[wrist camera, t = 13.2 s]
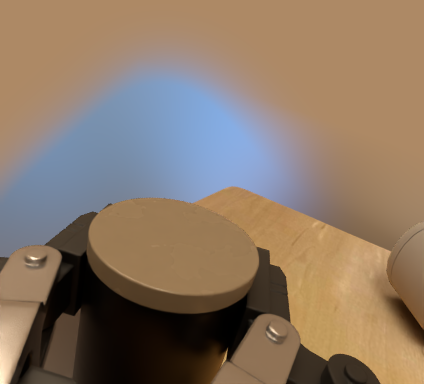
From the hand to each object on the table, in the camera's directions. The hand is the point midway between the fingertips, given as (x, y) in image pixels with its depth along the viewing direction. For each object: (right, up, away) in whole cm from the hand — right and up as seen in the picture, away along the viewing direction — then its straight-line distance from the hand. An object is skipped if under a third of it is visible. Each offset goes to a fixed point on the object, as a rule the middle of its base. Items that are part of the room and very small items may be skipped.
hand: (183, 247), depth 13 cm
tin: (-2, -6, 0) cm, 7 cm away
